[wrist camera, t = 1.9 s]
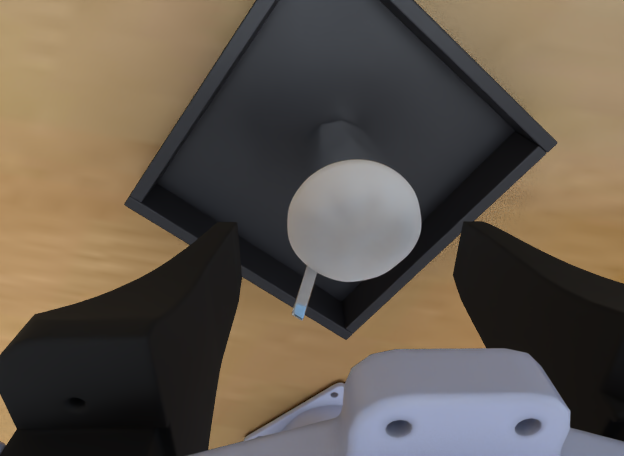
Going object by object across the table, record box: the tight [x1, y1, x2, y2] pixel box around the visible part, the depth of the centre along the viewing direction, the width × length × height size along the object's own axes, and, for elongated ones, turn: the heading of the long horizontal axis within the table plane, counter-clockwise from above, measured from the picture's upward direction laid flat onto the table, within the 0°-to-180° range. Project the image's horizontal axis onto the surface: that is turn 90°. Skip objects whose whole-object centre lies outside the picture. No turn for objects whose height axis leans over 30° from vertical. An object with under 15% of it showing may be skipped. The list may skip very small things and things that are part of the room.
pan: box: [124, 0, 557, 340], centre depth 21 cm, size 15×14×3 cm
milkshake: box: [287, 119, 421, 320], centre depth 17 cm, size 5×5×10 cm
